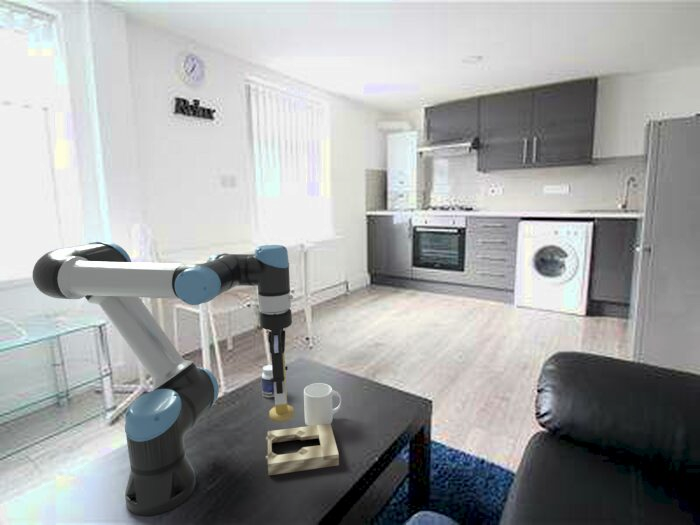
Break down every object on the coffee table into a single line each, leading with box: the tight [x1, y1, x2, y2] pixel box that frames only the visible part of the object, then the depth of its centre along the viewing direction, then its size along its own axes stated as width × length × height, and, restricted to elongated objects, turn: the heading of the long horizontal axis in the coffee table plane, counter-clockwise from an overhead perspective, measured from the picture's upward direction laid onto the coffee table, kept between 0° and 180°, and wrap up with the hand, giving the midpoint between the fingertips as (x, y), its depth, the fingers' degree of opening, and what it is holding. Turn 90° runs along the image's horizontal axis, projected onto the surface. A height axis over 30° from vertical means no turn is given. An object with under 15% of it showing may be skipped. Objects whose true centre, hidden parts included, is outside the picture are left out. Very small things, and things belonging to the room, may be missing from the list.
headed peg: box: [269, 352, 295, 423], centre depth 100 cm, size 6×6×16 cm
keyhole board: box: [265, 423, 340, 476], centre depth 109 cm, size 19×14×3 cm
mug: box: [303, 382, 342, 426], centre depth 124 cm, size 9×12×11 cm
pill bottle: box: [261, 364, 275, 398], centre depth 140 cm, size 6×6×10 cm
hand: (280, 399), depth 101 cm, fingers closed on headed peg, 3 cm apart
